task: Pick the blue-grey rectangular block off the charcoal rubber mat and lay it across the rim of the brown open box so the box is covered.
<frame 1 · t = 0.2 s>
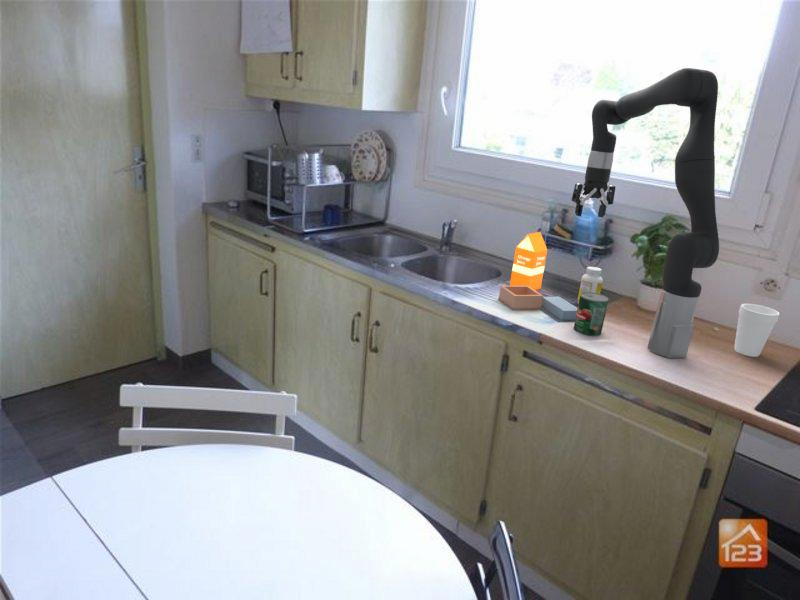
hand: (589, 216, 187), 29 cm above the table, tool pointing down, fingers open, 8 cm apart
canned tomato: (586, 332, 166), on the table
brown open box: (519, 305, 183), on the table
supplement bottle: (586, 305, 190), on the table
orange juice: (524, 288, 203), on the table
blue-grey rectangular block: (559, 312, 179), resting on mat
foam cup: (746, 352, 162), on the table
mat: (559, 313, 179), on the table
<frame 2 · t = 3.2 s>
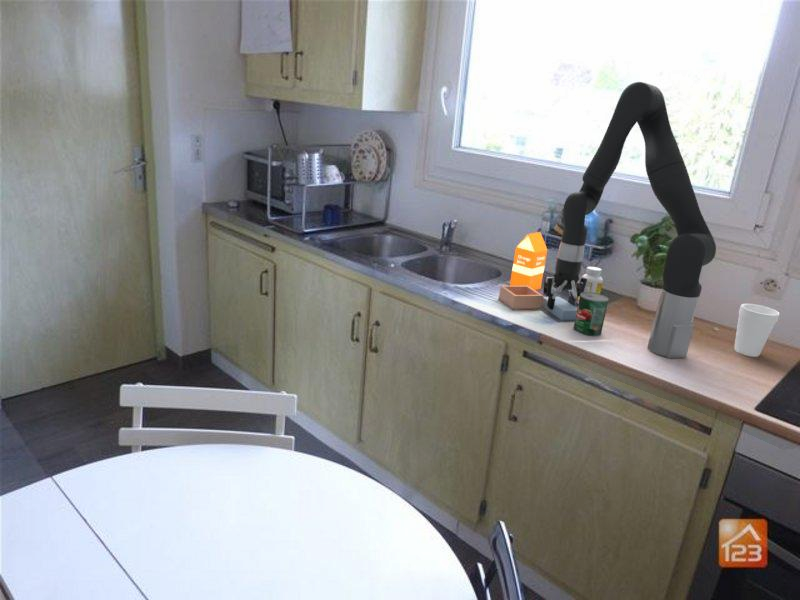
hand: (560, 308, 178), 2 cm above the table, tool pointing down, fingers closed on blue-grey rectangular block, 6 cm apart
blue-grey rectangular block: (559, 312, 179), resting on mat, touching gripper
everything else where it was.
when the fingers open (7 cm above the table, at t = 8.0 s): blue-grey rectangular block drops 1 cm, resting on brown open box.
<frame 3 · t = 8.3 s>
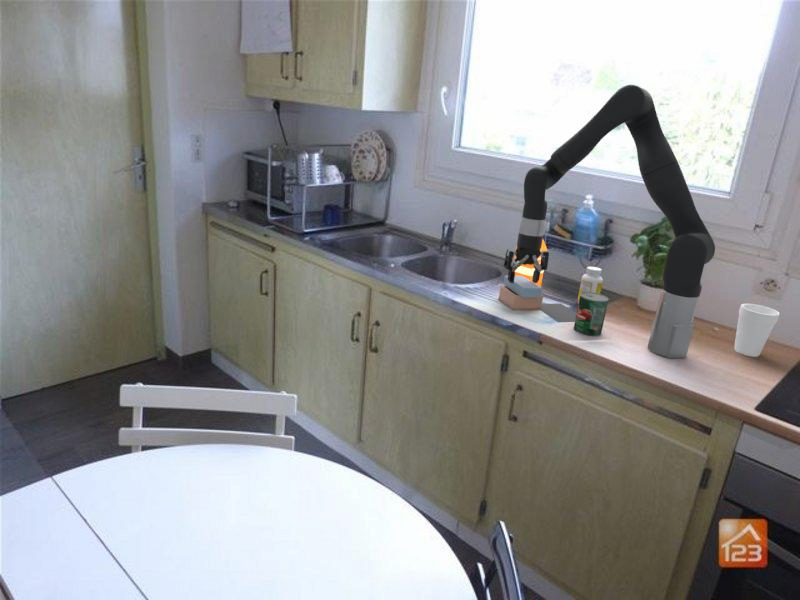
hand: (522, 282, 181), 8 cm above the table, tool pointing down, fingers open, 8 cm apart
blue-grey rectangular block: (521, 290, 181), point 5 cm above the table, touching brown open box
everything else where it was.
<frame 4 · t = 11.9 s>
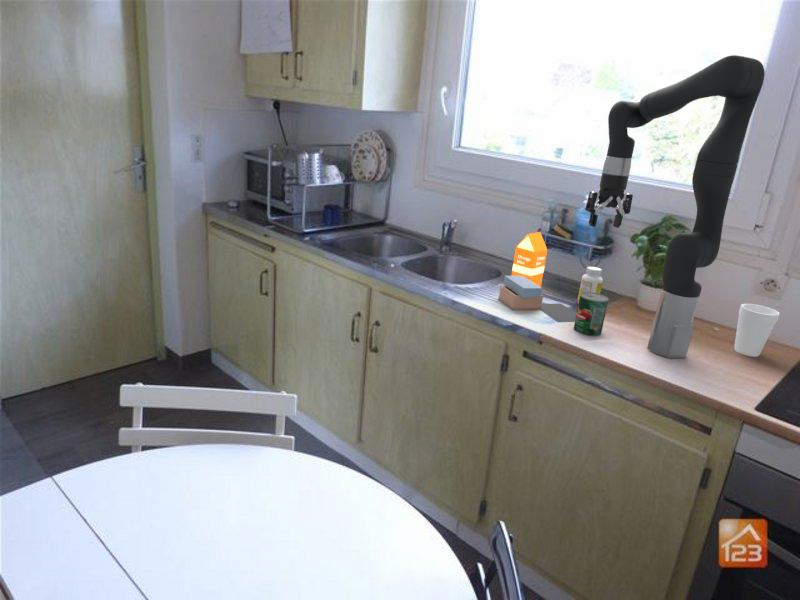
hand: (604, 226, 173), 28 cm above the table, tool pointing down, fingers open, 8 cm apart
nothing on the table moved.
at the end: blue-grey rectangular block 0.0 cm off-centre on the brown open box, point 5.0 cm above the brown open box's base; blue-grey rectangular block tilted 0°; the gripper is holding nothing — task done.
